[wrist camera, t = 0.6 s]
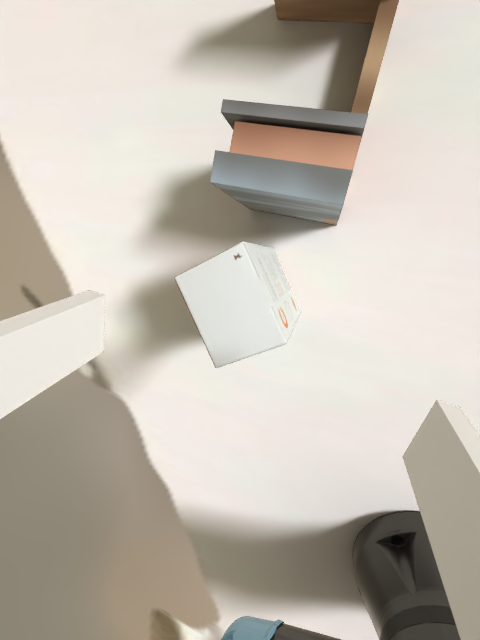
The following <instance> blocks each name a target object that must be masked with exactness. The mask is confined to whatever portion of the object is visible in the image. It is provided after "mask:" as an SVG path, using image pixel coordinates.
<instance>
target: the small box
mask: <svg viewBox="0 0 480 640" xmlns="http://www.w3.org/2000/svg"><path fill="white" fill-rule="evenodd" d="M175 281H176V283H177V285H178V287H179V289H180V291H181V294H182V296H183V298H184V300H185V302H186V305H187V307H188V309H189V311H190V313H191V315H192V317H193V320H194V322H195V324H196V326H197V328H198V331H199V333H200V335H201V337H202V339H203V341H204V344H205V346H206V348H207V350H208V352H209V355H210V357H211V359H212V361H213V363H214V365H215V368H218V367H221V366H224V365H227V364H230V363H233V362H236V361H239V360H241V359H244V358H247V357H250V356H253V355H256V354H259V353H262V352H264V351H267V350H270V349H273V348H276V347H279V346H282V345H285V344H287V341H288V339H289V337H290V335H291V332H292V330H293V328H294V326H295V324H296V322H297V320H298V317H299V315H300V313H301V310H300V307H299V305H298V302H297V300H296V297H295V295H294V293H293V290H292V288H291V286H290V283H289V281H288V279H287V276H286V274H285V272H284V269H283V267H282V265H281V262H280V260H279V258H278V256H277V254H276V251H275V249H274V248H272V247H267V246H263V245H258V244H254V243H249V242H245V241H242V242H240V243H238V244H236V245H235V246H233V247H231V248H229V249H227V250H225V251H224V252H222V253H220V254H218V255H216V256H214V257H212V258H211V259H209V260H207V261H205V262H203V263H201V264H199V265H197V266H196V267H194V268H192V269H190V270H188V271H186V272H184V273H182V274H180V275H178V276H176V277H175Z"/></svg>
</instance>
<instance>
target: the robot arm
mask: <svg viewBox="0 0 480 640" xmlns="http://www.w3.org/2000/svg"><path fill="white" fill-rule="evenodd" d="M104 326H105V295H104V294H100V293H97V292H94V291H91V290H88V291H85V292H82V293H79V294H77V295H74V296H71V297H68V298H65V299H62V300H60V301H57V302H54V303H51V304H48V305H45V306H42V307H40V308H37V309H34V310H31V311H28V312H25V313H23V314H20V315H17V316H14V317H11V318H8V319H5V320H2V321H0V419H1V418H3V417H4V416H5V415H7V414H9V413H10V412H12V411H13V410H15V409H16V408H18V407H19V406H21V405H22V404H24V403H26V402H27V401H29V400H30V399H32V398H33V397H35V396H36V395H38V394H39V393H41V392H42V391H44V390H45V389H47V388H49V387H50V386H51V385H53V384H55V383H56V382H58V381H59V380H61V379H62V378H64V377H65V376H67V375H68V374H70V373H72V372H73V371H75V370H76V369H78V368H79V367H81V366H82V365H84V364H85V363H87V362H88V361H90V360H91V359H93V358H95V357H96V356H98V355H99V354H101V353H102V352H104ZM403 459H404V462H405V465H406V469H407V472H408V475H409V478H410V481H411V484H412V488H413V491H414V494H415V497H416V500H417V503H418V507H419V510H420V512H399V513H393V514H389V515H385V516H382V517H380V518H378V519H376V520H374V521H372V522H371V523H369V524H368V525H367V526H366V527H365V528H364V529H363V530H362V531H361V532H360V534H359V535H358V537H357V539H356V541H355V544H354V549H353V562H354V572H355V578H356V582H357V586H358V589H359V591H360V594H361V596H362V598H363V601H364V603H365V606H366V608H367V611H368V613H369V615H370V618H371V620H372V623H373V625H374V628H375V630H376V632H377V635H378V637H379V640H480V435H479V434H478V432H477V431H476V430H475V428H474V427H473V425H472V424H471V422H470V421H469V419H468V418H467V416H466V415H465V413H464V412H463V411H462V409H461V408H460V407H458V406H455V405H452V404H448V403H445V402H442V401H439V400H436V402H435V403H434V405H433V407H432V408H431V410H430V412H429V413H428V415H427V417H426V418H425V420H424V422H423V423H422V425H421V427H420V428H419V430H418V432H417V433H416V435H415V437H414V438H413V440H412V442H411V443H410V445H409V447H408V448H407V450H406V452H405V453H404V455H403ZM221 640H341V639H338V638H334V637H330V636H327V635H323V634H319V633H316V632H312V631H309V630H305V629H301V628H298V627H294V626H290V625H287V624H284V622H283V621H281V620H277V621H275V622H274V621H269V620H264V619H259V618H255V617H250V616H245V617H241V618H239V619H237V620H235V621H234V622H233V623H232V624H231V625H230V627H229V628H228V629H227V631H226V632H225V634H224V635H223V637H222V639H221Z"/></svg>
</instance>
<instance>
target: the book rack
mask: <svg viewBox="0 0 480 640" xmlns="http://www.w3.org/2000/svg"><path fill="white" fill-rule="evenodd" d="M274 1H275V6H276V11H277V17H278V20H304V21H331V22H359V23H374V27H373V30H372V34H371V38H370V42H369V46H368V49H367V53H366V57H365V61H364V65H363V68H362V72H361V76H360V80H359V84H358V87H357V91H356V95H355V99H354V102H353V106H352V110H351V112H342V111H332V110H322V109H312V108H303V107H293V106H283V105H273V104H264V103H254V102H244V101H234V100H225V99H223V102H222V108H221V113H222V114H223V116H224V117H225V119H226V120H227V121H228V123H229V124H230V126H231V127H232V129H233V135H232V141H231V147H230V152H223V151H216V150H215V155H214V161H213V167H212V173H211V179H210V182H211V183H212V184H214V185H215V186H217V187H218V188H220V189H221V190H223V191H224V192H225V193H227V194H228V195H230V196H231V197H233V198H234V199H236V200H237V201H239V202H240V203H242V204H243V205H244V206H246V207H247V208H249V209H251V210H257V211H262V212H268V213H273V214H278V215H284V216H289V217H294V218H300V219H305V220H311V221H316V222H321V223H327V224H332V225H337V222H338V219H339V216H340V213H341V210H342V207H343V204H344V200H345V196H346V193H347V189H348V186H349V182H350V178H351V175H352V171H353V167H354V163H355V160H356V156H357V152H358V149H359V145H360V142H361V138H362V134H363V131H364V127H365V124H366V120H367V117H368V110H369V106H370V103H371V99H372V96H373V92H374V88H375V85H376V81H377V78H378V74H379V70H380V67H381V63H382V60H383V56H384V52H385V49H386V45H387V41H388V38H389V34H390V31H391V27H392V23H393V20H394V16H395V13H396V9H397V5H398V2H399V0H274Z"/></svg>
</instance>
